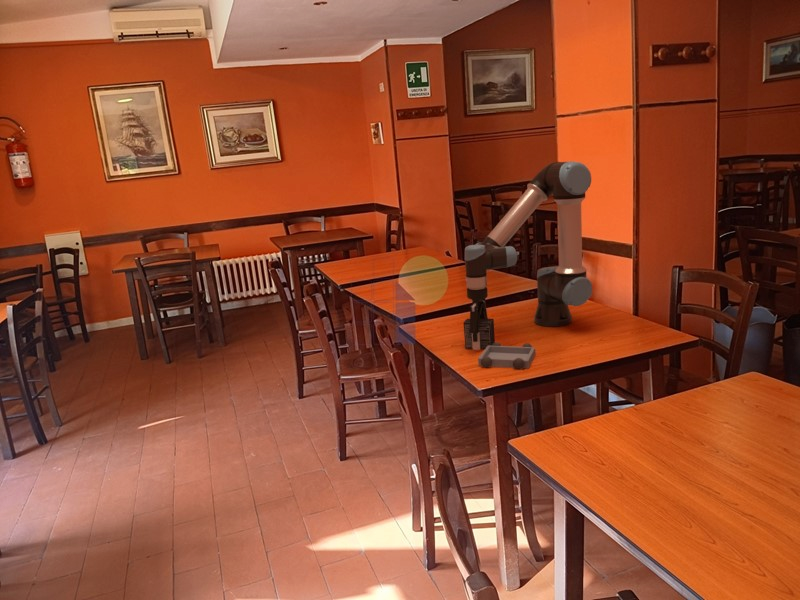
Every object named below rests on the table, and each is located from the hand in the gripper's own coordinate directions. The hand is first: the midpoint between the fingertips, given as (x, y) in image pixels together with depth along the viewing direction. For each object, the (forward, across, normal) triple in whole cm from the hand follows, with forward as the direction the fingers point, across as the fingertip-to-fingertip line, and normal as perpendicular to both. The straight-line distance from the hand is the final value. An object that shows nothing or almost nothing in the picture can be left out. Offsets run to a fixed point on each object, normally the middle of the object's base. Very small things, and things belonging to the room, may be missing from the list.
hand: (480, 344), depth 226 cm
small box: (+1, 0, 0) cm, 1 cm away
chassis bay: (+1, +13, +13) cm, 18 cm away
